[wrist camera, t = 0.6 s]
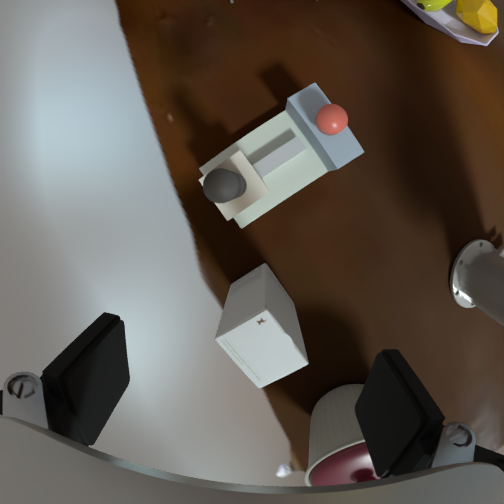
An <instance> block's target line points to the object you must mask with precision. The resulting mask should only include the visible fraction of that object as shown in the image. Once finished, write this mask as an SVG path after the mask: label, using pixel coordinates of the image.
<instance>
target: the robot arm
mask: <svg viewBox="0 0 504 504" xmlns="http://www.w3.org/2000/svg"><path fill="white" fill-rule="evenodd" d="M450 290H451V294H452V296H453V298H454V300H455V301H456V302H457V303H458V304H459V305H460V306H462V307H465V308H472V307H475V306H477V307H478V308H480V309H481V310H482V311H484V312H485V313H486V314H488V315H489V316H490V317H492V318H493V319H495V320H496V321H497V322H498V323H500V324H501V325H502V326H504V246H503V247H502V248H501V249H500V250H497V249H495V248H494V246H493V245H492V244H491V243H490V242H488V241H486V240H483V239H476V240H473V241H471V242H469V243H468V244H467V245H465V246H464V247H463V249H462V250H461V251H460V253H459V254H458V256H457V258H456V260H455V262H454V264H453V268H452V271H451V276H450ZM129 381H130V375H129V367H128V358H127V350H126V339H125V327H124V322H123V321H122V320H120V317H119V316H118V315H114V314H110V313H106V312H104V313H103V314H102V315H101V316H99V317H98V318H97V319H96V320H95V321H94V322H93V323H92V324H91V325H90V326H89V327H88V328H87V329H86V330H84V331H83V332H82V333H81V334H80V335H79V336H78V337H77V338H76V339H75V340H74V341H73V342H72V343H71V344H70V345H69V346H68V347H67V348H66V349H65V350H63V351H62V353H61V354H59V355H58V356H57V357H56V358H55V359H54V361H52V362H51V363H50V364H49V365H48V366H47V367H46V368H45V369H44V370H43V375H42V376H41V377H40V378H39V377H38V376H37V375H35V374H33V373H30V372H17V373H15V374H12V375H11V376H9V377H8V378H7V379H6V381H5V382H4V386H3V390H0V504H504V455H502V454H499V453H496V452H493V451H491V450H488V449H485V448H483V447H480V446H477V445H475V443H476V437H475V434H474V432H473V431H472V429H471V428H470V427H469V426H467V425H466V424H464V423H461V422H450V423H447V424H446V425H445V426H444V425H443V423H442V422H443V421H444V419H445V417H444V415H443V414H442V412H441V411H440V409H439V407H438V406H437V404H436V403H435V402H434V400H433V399H432V397H431V396H430V394H429V393H428V391H427V390H426V388H425V387H424V385H423V384H422V383H421V381H420V380H419V378H418V377H417V375H416V374H415V373H414V371H413V370H412V368H411V367H410V366H409V364H408V363H407V361H406V360H405V359H404V357H403V356H402V355H401V353H400V352H399V351H398V350H396V349H384V350H382V351H381V353H378V354H377V356H376V358H375V361H374V363H373V366H372V368H371V371H370V373H369V375H368V378H367V380H366V382H365V385H364V387H363V389H362V391H361V394H360V396H359V398H358V400H357V402H356V404H355V414H356V417H357V420H358V423H359V426H360V429H361V431H362V434H363V437H364V440H365V443H366V446H367V449H368V452H369V455H370V458H371V461H372V464H373V467H374V470H375V473H376V475H377V476H378V477H380V478H381V479H377V480H371V481H365V482H357V483H349V484H339V485H327V486H304V487H277V486H276V487H275V486H274V487H273V486H255V485H243V484H233V483H224V482H217V481H210V480H204V479H198V478H193V477H187V476H182V475H178V474H173V473H169V472H164V471H160V470H156V469H153V468H149V467H145V466H142V465H139V464H135V463H132V462H129V461H126V460H123V459H120V458H117V457H114V456H111V455H108V454H106V453H103V452H100V451H98V450H95V449H92V448H90V447H88V446H89V445H93V444H94V443H95V441H96V440H97V438H98V436H99V434H100V433H101V431H102V429H103V427H104V426H105V424H106V422H107V420H108V419H109V417H110V415H111V413H112V412H113V410H114V408H115V407H116V405H117V403H118V402H119V400H120V398H121V396H122V395H123V393H124V391H125V390H126V388H127V386H128V384H129Z"/></svg>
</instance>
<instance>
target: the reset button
mask: <svg viewBox="0 0 504 504" xmlns="http://www.w3.org/2000/svg"><path fill="white" fill-rule="evenodd" d="M347 123H348V117H347V114H346V112H345V111H344V109H343V108H341V107H340V106H338V105H336V104H327V105H324V106H323V107H322V108H321V109H320V110H319V112H318V113H317V115H316V117H315V124H316V127H317V128H318V130H319V131H320V132H321V133H323V134H325V135H329V136H333V135H336V134H338V133H339V132H341V131H342V130H343V129H344V128H345V127H346V126H347Z"/></svg>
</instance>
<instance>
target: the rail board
mask: <svg viewBox="0 0 504 504" xmlns="http://www.w3.org/2000/svg"><path fill="white" fill-rule="evenodd" d="M327 104H331V103H330V101H329V100H328V99H327V97H326V96H325V95H324V93H323V92H322V91H321V89H320V88H319V87H318V86H317V84H316V83H314V84H312V85H310V86H308V87H306V88H305V89H303V90H301V91H299V92H298V93H296V94H294V95H292V96H291V97H289V98H288V99H287V104H286V109H285V111H283V112H282V113H280V114H278V115H277V116H275V117H273V118H272V119H270V120H269V121H267V122H266V123H264V124H262V125H261V126H259V127H258V128H256V129H255V130H253V131H252V132H250V133H249V134H247V135H246V136H244V137H243V138H241V139H240V140H238V141H237V142H235V143H234V144H233V145H231V146H230V147H228V148H227V149H225V150H224V151H223V152H221V153H220V154H218V155H217V156H216V157H214V158H213V159H211V160H210V161H209V162H207V163H206V164H205V165H203V166H202V167H201V168H199V169H200V171H201V172H202V173H203V175H206V174H207V173H208V172H210V171H211V170H213V169H214V168H215V167H217V166H218V165H219V164H221V163H222V162H224V161H225V160H226V159H228V158H229V157H231V156H232V155H234V154H235V153H237V152H238V151H239V150H241V151H242V152H243V154H244V155H245V157H246V158H247V159H248V160H249V162H250V163H251V165H252V166H253V168H254V169H255V171H256V172H257V173H258V175H259V176H260V178H261V179H262V180H263V182H264V183H265V185H266V186H267V188H268V189H269V191H270V192H269V193H268V194H266V195H265V196H263V197H262V198H260V199H259V200H258V201H256V202H255V203H253V204H252V205H250V206H249V207H247V208H246V209H244V210H243V211H241V212H240V213H239V214H237V215H236V216H234V217H233V218H234V219H235V220H236V222H237V223H238V225H239V226H240V228H241V229H242V228H243V227H245V226H246V225H248V224H249V223H251V222H252V221H254V220H255V219H257V218H258V217H260V216H261V215H263V214H264V213H266V212H267V211H268V210H270V209H271V208H273V207H274V206H276V205H277V204H279V203H280V202H282V201H283V200H285V199H287V198H288V197H290V196H291V195H293V194H294V193H296V192H297V191H299V190H300V189H302V188H303V187H305V186H306V185H308V184H309V183H311V182H312V181H314V180H315V179H317V178H319V177H320V176H322V175H323V174H325V173H326V172H328V171H332V170H336V169H339V168H340V167H342V166H343V165H345V164H347V163H348V162H350V161H351V160H353V159H354V158H356V157H358V156H359V155H361V154H362V153H364V151H363V149H362V147H361V146H360V144H359V143H358V141H357V140H356V138H355V137H354V135H353V134H352V132H351V131H350V129H349V128H348V126H346V127H345V128H344V129H343V130H342V131H341V132H339V133H338V134H336V135H333V136H329V135H325V134H323V133H321V132H320V131H319V130H318V128H317V127H316V124H315V117H316V115H317V113H318V112H319V110H320V109H321V108H322V107H323V106H324V105H327Z"/></svg>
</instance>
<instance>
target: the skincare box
mask: <svg viewBox="0 0 504 504" xmlns="http://www.w3.org/2000/svg"><path fill="white" fill-rule="evenodd" d="M215 340H216V341H217V342H218V344H219V345H220V346H221V347H222V348H223V349H224V350H225V352H226V353H227V354H228V355H229V356H230V357H231V359H232V360H233V361H234V362H235V363H236V364H237V365H238V366H239V367H240V369H241V370H242V371H243V372H244V373H245V374H246V375H247V376H248V377H249V379H250V380H251V381H252V382H253V383H254V384H255V385H256V386H257V387H258V388H261V387H264V386H266V385H268V384H270V383H272V382H274V381H276V380H278V379H280V378H282V377H284V376H286V375H288V374H290V373H292V372H294V371H296V370H298V369H300V368H302V367H304V366H306V365H308V359H307V354H306V350H305V346H304V342H303V338H302V334H301V330H300V326H299V322H298V318H297V314H296V310H295V306H294V303H293V301H292V300H291V298H290V297H289V295H288V294H287V292H286V291H285V289H284V288H283V286H282V285H281V284H280V282H279V281H278V279H277V278H276V276H275V275H274V274H273V272H272V271H271V269H270V268H269V267H268V265H267V264H266V263H264V264H262V265H260V266H259V267H257V268H256V269H254V270H252V271H251V272H249V273H248V274H246V275H245V276H243V277H242V278H240V279H238V280H237V281H235V282H234V283H232V284H231V286H230V289H229V292H228V296H227V299H226V303H225V306H224V309H223V313H222V317H221V320H220V323H219V326H218V330H217V333H216V337H215Z"/></svg>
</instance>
